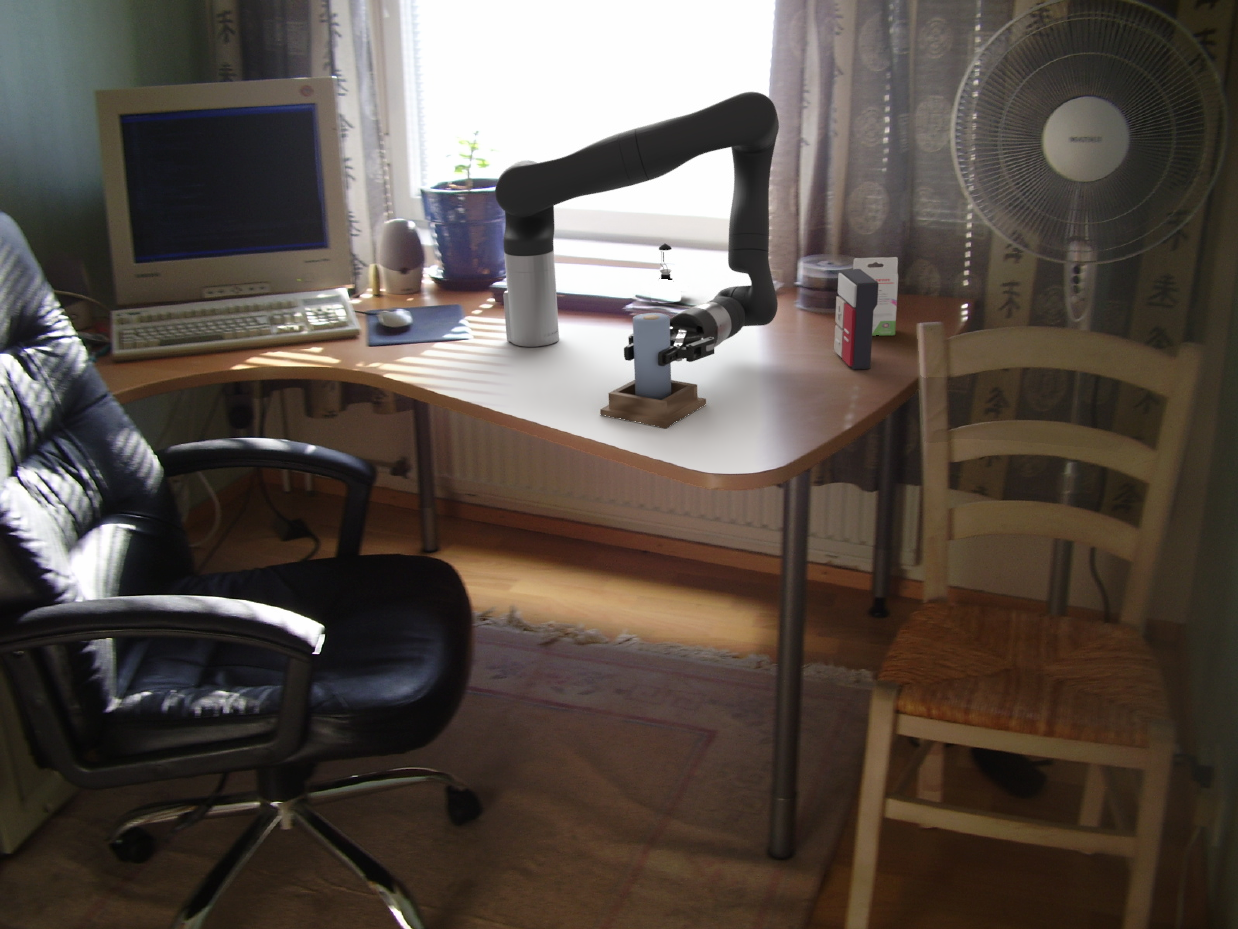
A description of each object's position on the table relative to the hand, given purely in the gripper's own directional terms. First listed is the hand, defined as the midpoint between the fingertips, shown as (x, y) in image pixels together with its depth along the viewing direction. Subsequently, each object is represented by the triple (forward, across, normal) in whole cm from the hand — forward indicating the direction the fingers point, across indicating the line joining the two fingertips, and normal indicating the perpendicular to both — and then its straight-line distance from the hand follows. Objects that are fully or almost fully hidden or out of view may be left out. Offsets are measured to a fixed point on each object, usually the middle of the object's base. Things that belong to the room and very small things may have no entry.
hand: (643, 356), depth 163 cm
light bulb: (-62, -35, +10) cm, 72 cm away
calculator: (-40, +17, +10) cm, 45 cm away
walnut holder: (-2, 0, +9) cm, 10 cm away
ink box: (-58, +13, +10) cm, 61 cm away
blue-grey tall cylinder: (-3, 0, +8) cm, 8 cm away
